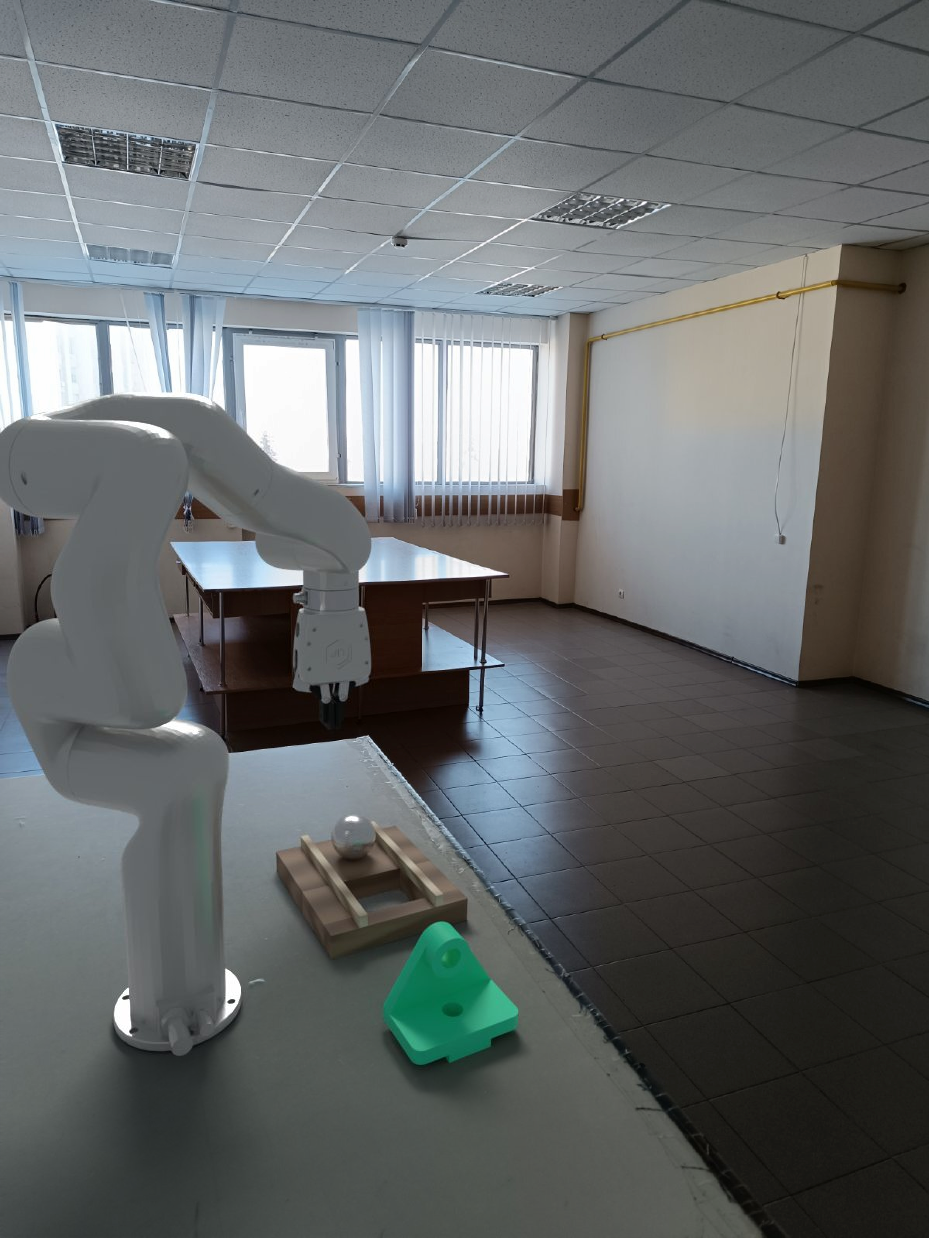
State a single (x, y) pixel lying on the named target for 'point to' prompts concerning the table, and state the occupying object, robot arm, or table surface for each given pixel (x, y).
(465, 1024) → the camera mount
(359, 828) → the steel ball
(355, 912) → the walnut board
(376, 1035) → the table surface
